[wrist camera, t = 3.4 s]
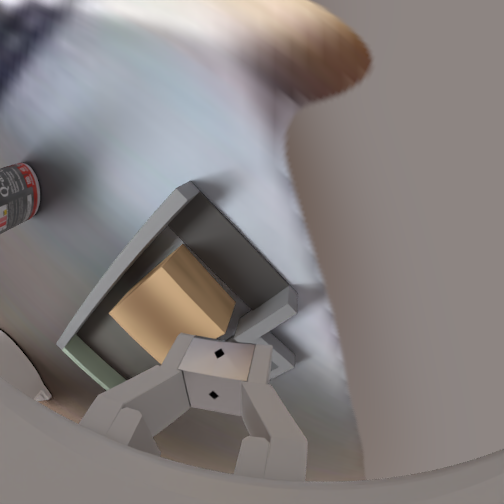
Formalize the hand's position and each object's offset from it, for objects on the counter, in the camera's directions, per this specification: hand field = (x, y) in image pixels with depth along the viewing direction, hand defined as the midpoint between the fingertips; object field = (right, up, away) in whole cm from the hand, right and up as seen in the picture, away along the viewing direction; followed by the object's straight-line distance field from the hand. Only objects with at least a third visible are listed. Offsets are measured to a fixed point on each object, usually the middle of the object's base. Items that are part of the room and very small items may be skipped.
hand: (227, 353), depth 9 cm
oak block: (-5, 0, +14) cm, 15 cm away
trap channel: (-7, -5, +16) cm, 18 cm away
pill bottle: (-21, +9, +12) cm, 26 cm away
